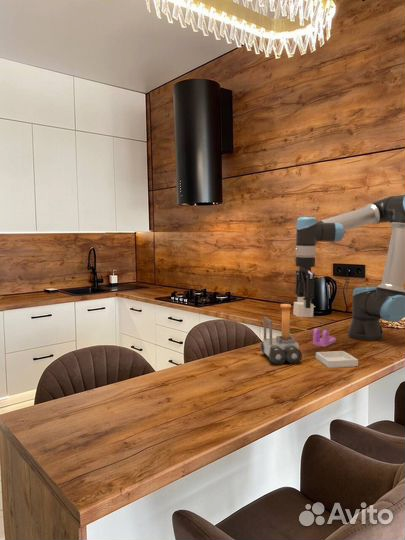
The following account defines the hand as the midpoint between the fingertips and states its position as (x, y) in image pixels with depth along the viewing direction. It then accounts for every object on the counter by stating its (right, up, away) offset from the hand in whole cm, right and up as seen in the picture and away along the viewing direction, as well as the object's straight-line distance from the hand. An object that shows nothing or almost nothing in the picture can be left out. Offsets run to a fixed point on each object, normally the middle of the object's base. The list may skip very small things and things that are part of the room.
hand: (303, 314), depth 165 cm
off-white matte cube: (0, -1, 0) cm, 1 cm away
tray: (+9, -17, -11) cm, 22 cm away
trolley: (-10, -17, -6) cm, 21 cm away
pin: (-9, -10, -7) cm, 14 cm away
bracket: (+14, -15, +16) cm, 26 cm away
